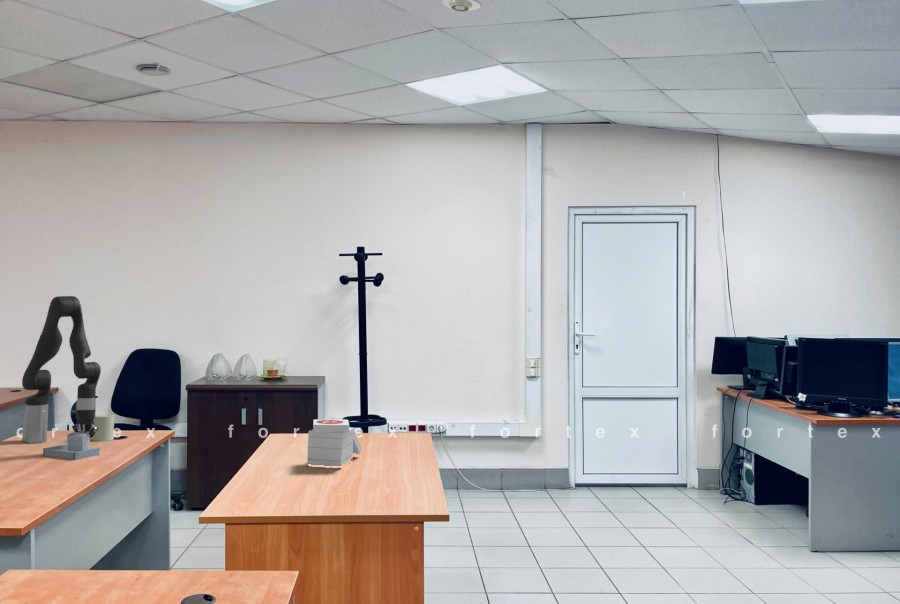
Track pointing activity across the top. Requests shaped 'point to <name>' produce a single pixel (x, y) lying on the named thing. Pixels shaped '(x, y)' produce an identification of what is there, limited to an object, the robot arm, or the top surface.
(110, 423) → the can
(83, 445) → the medicine box
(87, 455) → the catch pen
